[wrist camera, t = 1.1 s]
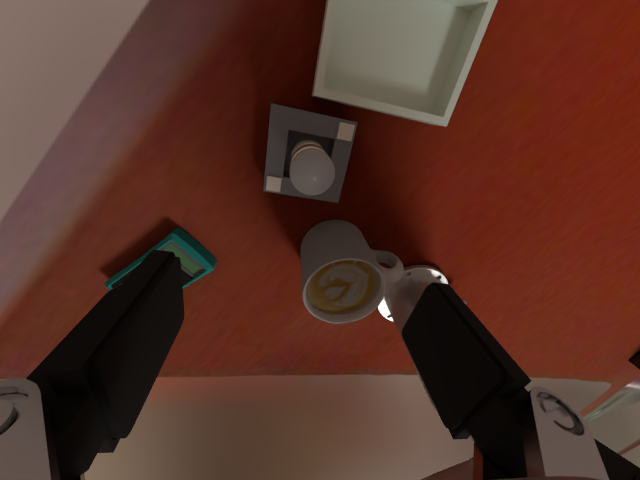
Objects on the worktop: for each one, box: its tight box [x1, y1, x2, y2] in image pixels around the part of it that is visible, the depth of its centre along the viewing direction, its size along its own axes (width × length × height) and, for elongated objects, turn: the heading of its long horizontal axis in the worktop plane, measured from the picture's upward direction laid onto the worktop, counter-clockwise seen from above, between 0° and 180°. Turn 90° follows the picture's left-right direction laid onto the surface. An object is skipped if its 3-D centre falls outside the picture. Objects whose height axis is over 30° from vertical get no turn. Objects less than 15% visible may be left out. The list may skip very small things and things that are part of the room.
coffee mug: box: [300, 220, 404, 324], centre depth 33 cm, size 13×10×10 cm
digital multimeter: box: [105, 228, 217, 290], centre depth 35 cm, size 7×15×3 cm, turn 124°
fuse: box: [290, 137, 335, 195], centre depth 25 cm, size 4×4×9 cm
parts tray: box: [312, 0, 498, 127], centre depth 24 cm, size 15×11×3 cm
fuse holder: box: [263, 103, 358, 203], centre depth 28 cm, size 9×9×4 cm
